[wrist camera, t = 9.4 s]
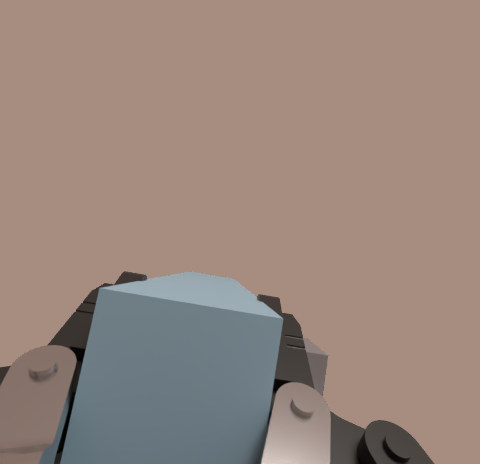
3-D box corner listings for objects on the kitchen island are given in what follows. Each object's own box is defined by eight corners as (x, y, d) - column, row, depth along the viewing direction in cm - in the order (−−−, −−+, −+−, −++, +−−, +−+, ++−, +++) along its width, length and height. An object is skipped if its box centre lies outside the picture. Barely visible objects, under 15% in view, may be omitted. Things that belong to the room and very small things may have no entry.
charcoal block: (247, 405, 21) (257, 344, 21) (241, 378, 26) (249, 329, 26) (320, 416, 21) (327, 355, 22) (300, 387, 26) (307, 338, 26)
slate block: (53, 491, 6) (99, 288, 7) (182, 315, 28) (190, 271, 28) (253, 517, 6) (283, 318, 7) (225, 322, 28) (233, 278, 29)
